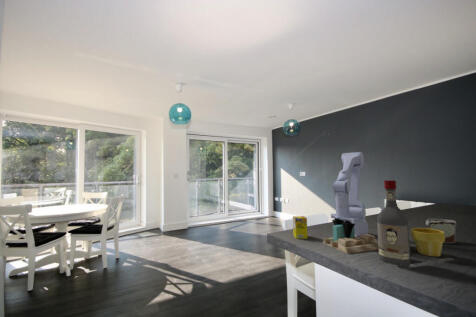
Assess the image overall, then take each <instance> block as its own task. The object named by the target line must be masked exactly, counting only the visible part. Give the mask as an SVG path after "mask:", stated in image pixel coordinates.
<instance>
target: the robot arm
mask: <svg viewBox="0 0 476 317" xmlns="http://www.w3.org/2000/svg"><path fill="white" fill-rule="evenodd" d="M364 159H365V158H364V154H363V152H362V151H359V152H357V151H355V152H343V153H342V154H341V162H342V163H341V164H342V165H343V167H342V170H340V171H339V172H338V175H337V178H336V180H335V181H333V183H332V189H333V190H332V191H333V195H334V197H335V213H330V219H332V220H331V222H332V223H333V225H343V227H344V231H345V238H350V236H351V232H352V229H353V227H354V229H355V235H356V236H357V237H360V235H365V234H368V235H369V225H368V221H367V220H366V215H367V213H366V205H365V203H364V202H362V201H361V200H360V173H361V170H362V169H364V165H365V163H364V162H365V160H364Z"/></svg>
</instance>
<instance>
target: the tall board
mask: <svg viewBox="0 0 476 317" xmlns="http://www.w3.org/2000/svg"><path fill="white" fill-rule="evenodd" d="M332 238H333V241H338V239H341V238H345V231H344V227H343V225H334V224H333V225H332ZM351 238H355V229H354V227H353V229H352V232H351V236H350V238H348V239H351Z"/></svg>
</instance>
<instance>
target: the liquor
mask: <svg viewBox="0 0 476 317" xmlns="http://www.w3.org/2000/svg"><path fill="white" fill-rule="evenodd" d="M383 184H384V186H383V187H384V190H385V206H384V207H383V208H382V209H381V210H382V211H381V210H380V212H379V213H378V214H377V216H376V224H377V225H376V227H377V243H378V247H379V249H378V260H379V261H382V262H383V263H387V264H391V265H397V266H395V268H400V269H407V268H408V269H409V267H410V266H411V261H412V259H411V245H410V244H411V243H410V230H409V218H408V216H407V214H406V215H405V214H404V213H405V212H403V210H401V209H400V208H399V207H398V203H397V194H396V193H397V192H396V191H397V182H396V180H388V179H387V180H386V179H385V180H383Z"/></svg>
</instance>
